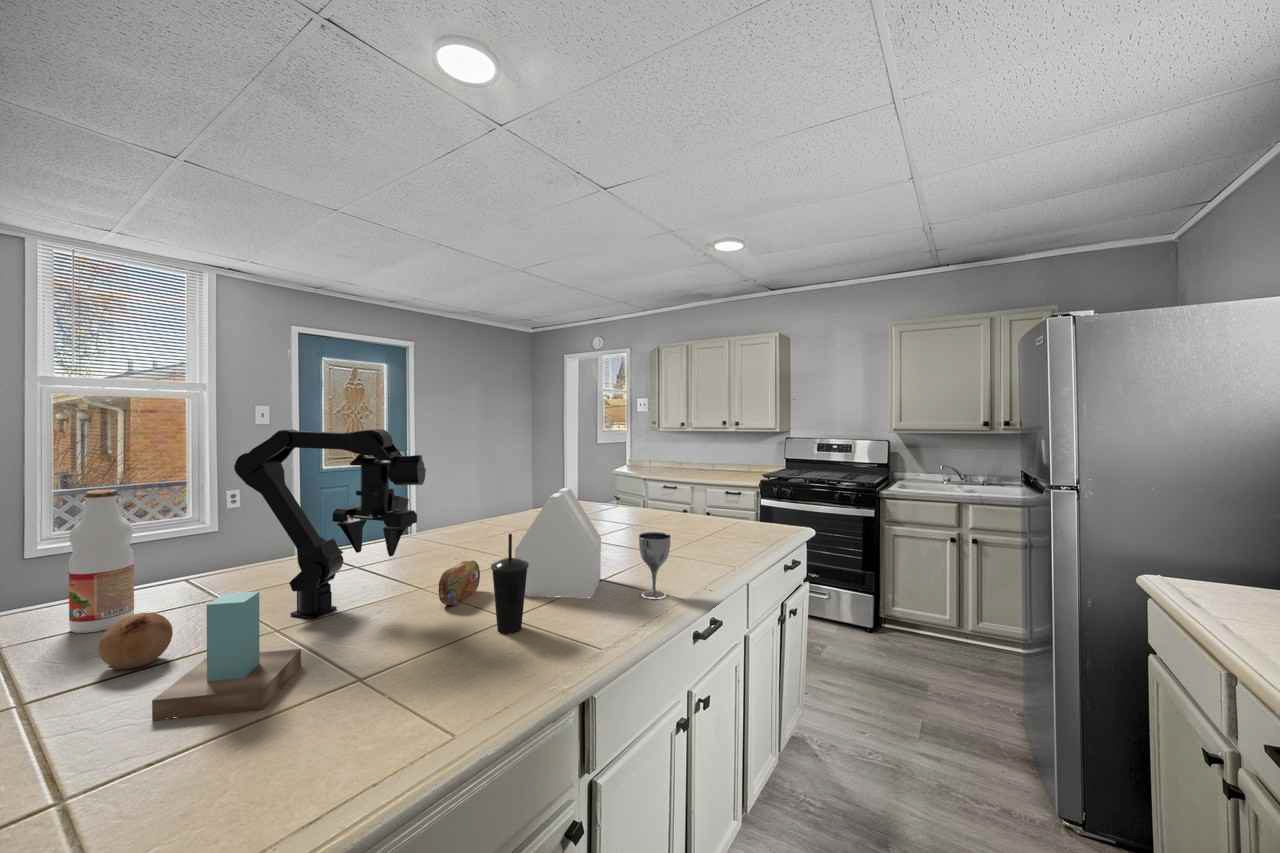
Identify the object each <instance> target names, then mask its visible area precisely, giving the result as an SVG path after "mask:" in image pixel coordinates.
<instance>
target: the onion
mask: <svg viewBox="0 0 1280 853" xmlns="http://www.w3.org/2000/svg"><path fill="white" fill-rule="evenodd" d="M173 633H174V632H173V626H172V623H171V622H170V621H169V619H168V618H166V617H165V616H164V615H161V614H158V613H155V612H151V611H150V612H140V613H134V615H130V616H128V617H125V618H123V619H121V620H119V621H117V622H116V623H115V624H113V625H112V626H111V627H110V628H109V629H107V630H105V632H103V634H102V636H101V638H100V640H99V643H98V654H99V656H100V659H101V660H102V661H103V662H104V663H105V664H106V665H108V666H107V668H108V669H113V670H115V669H118V670H132V669H133V670H134V669H137V668H141V667H143V666H147V665H149V664H151V663H153V662H155V660H156V659H158V658H159V657H160V656H161V655H162V654H164V652H165V651H166V650H167V649H168V646H169V645H170V643H171V642H172V639H173Z"/></svg>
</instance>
